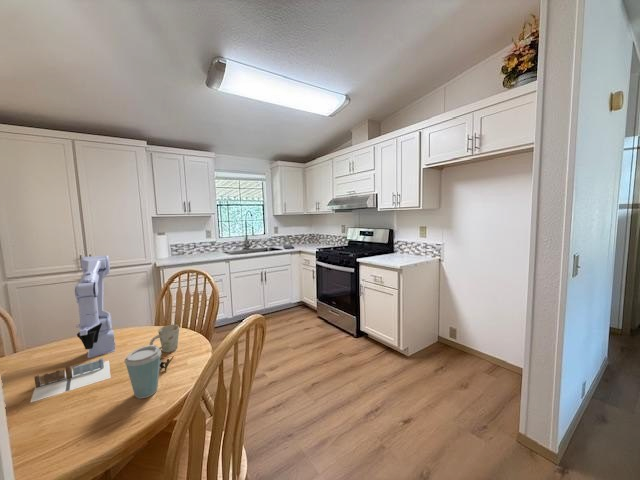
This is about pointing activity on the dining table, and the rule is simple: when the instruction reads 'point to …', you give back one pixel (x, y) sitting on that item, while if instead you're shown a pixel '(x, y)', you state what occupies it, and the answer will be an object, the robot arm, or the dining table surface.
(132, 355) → the disposable coffee cup
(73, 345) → the dining table surface
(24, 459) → the dining table surface
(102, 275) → the robot arm
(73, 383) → the card
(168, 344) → the mug
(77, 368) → the fence folding panel
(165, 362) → the eagle figurine
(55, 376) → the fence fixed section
